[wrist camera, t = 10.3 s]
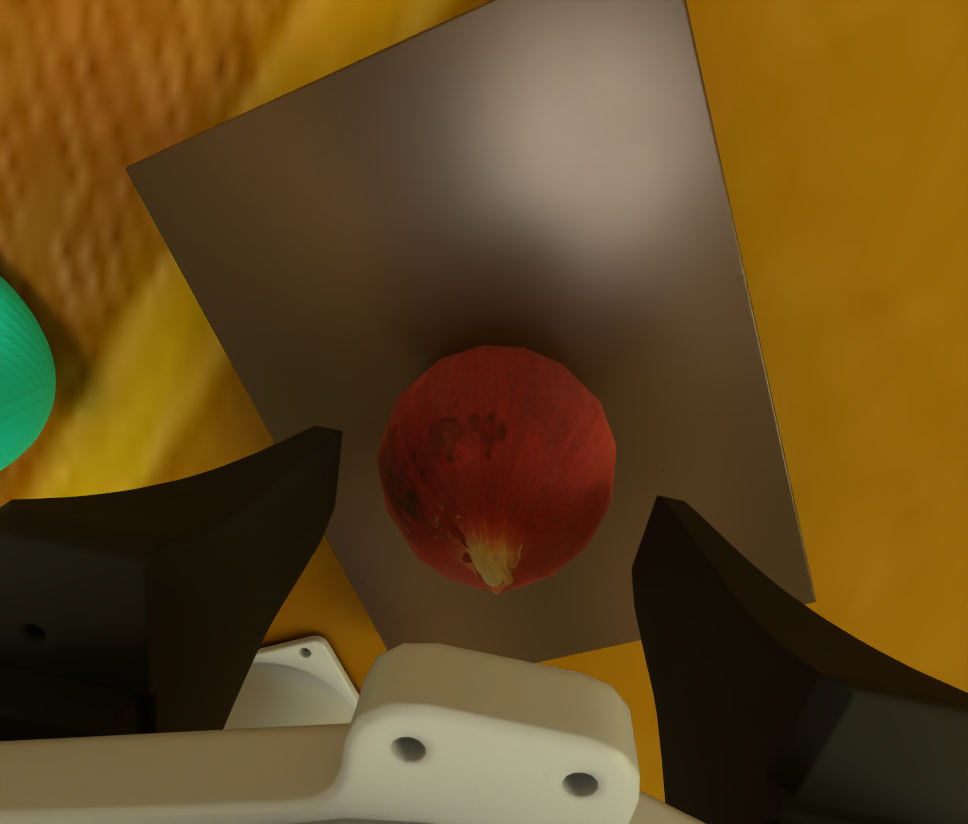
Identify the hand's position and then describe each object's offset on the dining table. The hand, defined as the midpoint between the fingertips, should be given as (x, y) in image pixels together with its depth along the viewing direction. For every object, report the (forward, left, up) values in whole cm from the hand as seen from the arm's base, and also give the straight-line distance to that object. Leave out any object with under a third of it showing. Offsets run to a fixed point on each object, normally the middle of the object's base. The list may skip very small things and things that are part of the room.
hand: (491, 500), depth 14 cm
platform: (0, 0, -8) cm, 8 cm away
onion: (0, 0, -6) cm, 6 cm away
